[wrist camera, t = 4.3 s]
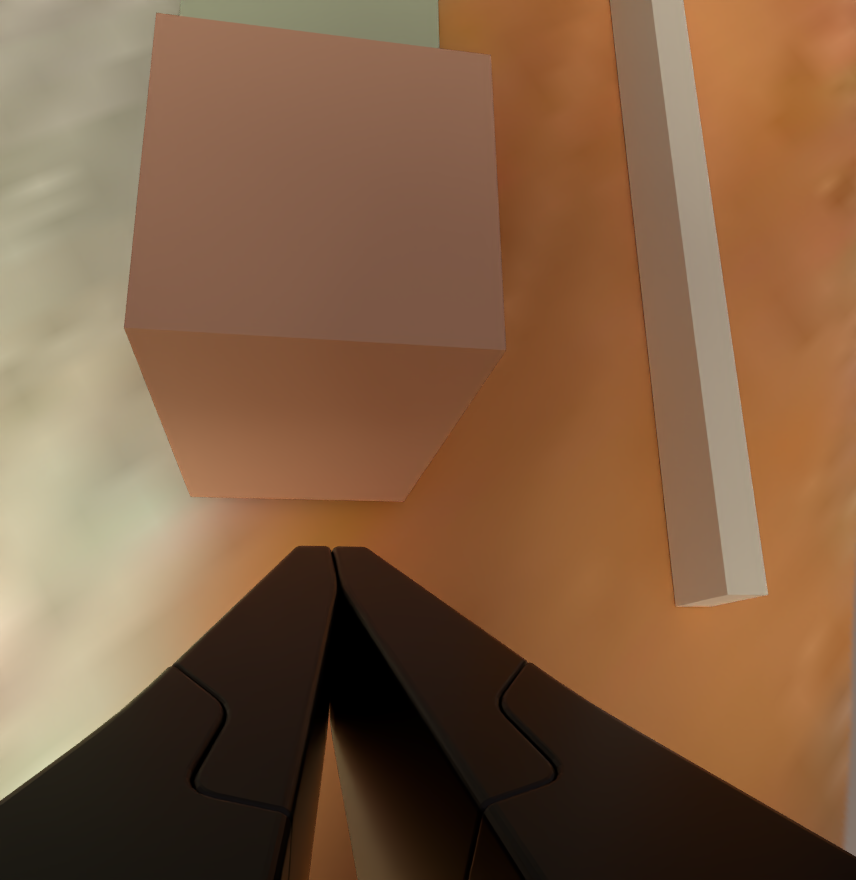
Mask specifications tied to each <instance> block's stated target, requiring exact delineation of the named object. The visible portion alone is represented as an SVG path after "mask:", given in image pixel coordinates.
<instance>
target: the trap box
mask: <svg viewBox="0 0 856 880" xmlns="http://www.w3.org/2000/svg"><path fill="white" fill-rule="evenodd" d="M610 7H611V16H612V25H613V35H614V44H615V53H616V62H617V71H618V81H619V90H620V99H621V108H622V117H623V127H624V136H625V145H626V154H627V163H628V173H629V182H630V191H631V200H632V209H633V219H634V228H635V237H636V246H637V255H638V265H639V274H640V283H641V292H642V302H643V311H644V320H645V329H646V338H647V348H648V357H649V366H650V375H651V384H652V394H653V403H654V412H655V421H656V430H657V440H658V449H659V458H660V467H661V476H662V486H663V495H664V504H665V513H666V522H667V532H668V541H669V550H670V559H671V569H672V578H673V587H674V596H675V605H676V607H712V606H717V605H722V604H726V603H731V602H736V601H741V600H746V599H750V598H755V597H760V596H765V595H768V590H767V583H766V576H765V569H764V562H763V555H762V548H761V541H760V534H759V527H758V520H757V513H756V506H755V499H754V492H753V485H752V478H751V471H750V464H749V457H748V450H747V443H746V436H745V429H744V422H743V415H742V408H741V401H740V394H739V387H738V380H737V373H736V366H735V359H734V352H733V345H732V338H731V331H730V324H729V317H728V310H727V303H726V296H725V289H724V282H723V275H722V268H721V261H720V254H719V247H718V240H717V233H716V226H715V219H714V212H713V205H712V198H711V191H710V184H709V177H708V170H707V163H706V156H705V149H704V142H703V135H702V128H701V121H700V114H699V107H698V100H697V93H696V86H695V79H694V72H693V65H692V58H691V51H690V44H689V37H688V30H687V23H686V16H685V9H684V2H683V0H610ZM179 16H185V17H193V18H201V19H209V20H217V21H225V22H233V23H241V24H249V25H257V26H265V27H273V28H281V29H289V30H297V31H305V32H313V33H320V34H328V35H336V36H344V37H352V38H360V39H368V40H376V41H384V42H392V43H400V44H408V45H416V46H424V47H432V48H439V18H438V0H181V4H180V14H179Z"/></svg>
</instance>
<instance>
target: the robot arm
mask: <svg viewBox="0 0 856 880" xmlns="http://www.w3.org/2000/svg"><path fill="white" fill-rule="evenodd" d="M329 714H330V725H331V732H332V739H333V745H334V750H335V756H336V761H337V767H338V773H339V778H340V784H341V789H342V795H343V801H344V806H345V812H346V817H347V823H348V829H349V834H350V840H351V845H352V851H353V857H354V862H355V868H356V873H357V879H358V880H856V857H855V856H854V855H852V854H850V853H848V852H847V851H845V850H843V849H842V848H840V847H838V846H836V845H835V844H833V843H831V842H829V841H828V840H826V839H824V838H822V837H821V836H819V835H817V834H816V833H814V832H812V831H810V830H809V829H807V828H805V827H803V826H802V825H800V824H798V823H796V822H795V821H793V820H791V819H790V818H788V817H786V816H784V815H783V814H781V813H779V812H777V811H776V810H774V809H772V808H770V807H769V806H767V805H765V804H764V803H762V802H760V801H758V800H757V799H755V798H753V797H751V796H750V795H748V794H746V793H744V792H743V791H741V790H739V789H737V788H736V787H734V786H732V785H731V784H729V783H727V782H725V781H724V780H722V779H720V778H718V777H717V776H715V775H713V774H711V773H710V772H708V771H706V770H705V769H703V768H701V767H699V766H698V765H696V764H694V763H692V762H691V761H689V760H687V759H685V758H684V757H682V756H680V755H679V754H677V753H675V752H673V751H672V750H670V749H668V748H666V747H665V746H663V745H661V744H659V743H658V742H656V741H654V740H653V739H651V738H649V737H647V736H646V735H644V734H642V733H640V732H639V731H637V730H635V729H633V728H632V727H630V726H628V725H627V724H625V723H623V722H622V721H620V720H618V719H617V718H615V717H613V716H612V715H610V714H608V713H607V712H605V711H603V710H602V709H600V708H598V707H597V706H595V705H593V704H592V703H590V702H589V701H587V700H586V699H584V698H583V697H581V696H580V695H578V694H577V693H575V692H574V691H572V690H571V689H569V688H567V687H566V686H564V685H563V684H561V683H560V682H558V681H557V680H555V679H554V678H553V677H551V676H550V675H548V674H547V673H545V672H544V671H543V670H541V669H540V668H538V667H537V666H536V665H534V664H533V663H527V661H526V660H525V659H524V658H522V657H521V656H519V655H518V654H516V653H515V652H514V651H512V650H511V649H509V648H508V647H507V646H505V645H504V644H502V643H501V642H499V641H498V640H497V639H495V638H494V637H492V636H491V635H490V634H488V633H487V632H485V631H484V630H482V629H481V628H480V627H478V626H477V625H475V624H474V623H473V622H471V621H470V620H468V619H467V618H465V617H464V616H463V615H461V614H460V613H458V612H457V611H456V610H454V609H453V608H451V607H450V606H448V605H447V604H446V603H444V602H443V601H441V600H440V599H439V598H437V597H436V596H434V595H433V594H431V593H430V592H429V591H427V590H426V589H424V588H423V587H422V586H420V585H419V584H417V583H416V582H414V581H413V580H412V579H410V578H409V577H407V576H406V575H405V574H403V573H402V572H400V571H399V570H397V569H396V568H395V567H393V566H392V565H390V564H389V563H388V562H386V561H385V560H383V559H382V558H380V557H379V556H378V555H376V554H375V553H373V552H372V551H371V550H369V549H367V548H365V547H341V546H339V547H335V548H334V549H333V550H332V552H331V550H330V548H329V547H326V546H298V547H296V548H295V549H294V550H293V551H292V552H290V553H289V554H288V555H287V556H286V557H285V558H284V559H283V560H282V561H281V562H280V563H279V564H278V565H277V566H276V567H275V568H274V569H273V570H272V571H271V572H269V573H268V574H267V575H266V576H265V577H264V578H263V579H262V580H261V581H260V582H259V583H258V584H257V585H256V586H255V587H254V588H253V589H252V590H251V591H250V592H249V593H247V594H246V595H245V596H244V597H243V598H242V599H241V600H240V601H239V602H238V603H237V604H236V605H235V606H234V607H233V608H232V609H231V610H230V611H229V612H228V613H226V614H225V615H224V616H223V617H222V618H221V619H220V620H219V621H218V622H217V623H216V624H215V625H214V626H213V627H212V628H211V629H210V630H209V631H208V632H207V633H206V634H204V635H203V636H202V637H201V638H200V639H199V640H198V641H197V642H196V643H195V644H194V645H193V646H192V647H191V648H190V649H189V650H188V651H187V652H186V653H185V654H183V655H182V656H181V657H180V658H179V659H178V660H177V661H176V662H175V663H174V664H173V665H172V667H168V668H167V669H166V670H165V671H164V672H163V673H162V674H161V675H160V676H159V677H158V678H157V679H156V680H155V681H153V682H152V683H151V684H150V685H149V686H148V687H147V688H146V689H145V690H143V691H142V692H141V693H140V694H139V695H138V696H137V697H136V698H134V699H133V700H132V701H131V702H130V703H129V704H128V705H126V706H125V707H124V708H123V709H122V710H121V711H120V712H118V713H117V714H116V715H114V716H113V717H112V718H111V719H109V720H108V721H107V722H105V723H104V724H103V725H102V726H100V727H99V728H98V729H96V730H95V731H94V732H93V733H91V734H90V735H89V736H87V737H86V738H85V739H84V740H82V741H81V742H80V743H78V744H77V745H76V746H74V747H73V748H72V749H70V750H69V751H68V752H66V753H65V754H63V755H62V756H61V757H59V758H58V759H57V760H55V761H54V762H53V763H51V764H50V765H48V766H47V767H46V768H44V769H43V770H42V771H40V772H39V773H38V774H36V775H35V776H33V777H32V778H31V779H29V780H28V781H27V782H25V783H24V784H23V785H21V786H20V787H18V788H17V789H16V790H14V791H13V792H12V793H10V794H9V795H8V796H6V797H5V798H3V799H2V800H1V801H0V880H308V879H309V872H310V864H311V856H312V848H313V840H314V833H315V825H316V817H317V809H318V801H319V793H320V786H321V778H322V770H323V762H324V754H325V746H326V739H327V728H328V716H329Z"/></svg>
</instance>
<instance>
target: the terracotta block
mask: <svg viewBox="0 0 856 880" xmlns="http://www.w3.org/2000/svg"><path fill="white" fill-rule="evenodd" d="M124 329H125V331H126V334H127V336H128V339H129V341H130V344H131V347H132V349H133V352H134V354H135V357H136V359H137V362H138V364H139V367H140V369H141V372H142V374H143V377H144V380H145V382H146V385H147V387H148V390H149V392H150V395H151V397H152V400H153V402H154V405H155V407H156V410H157V413H158V415H159V418H160V420H161V423H162V425H163V428H164V430H165V433H166V435H167V438H168V441H169V443H170V446H171V448H172V451H173V453H174V456H175V458H176V461H177V463H178V466H179V468H180V471H181V474H182V476H183V479H184V481H185V484H186V486H187V489H188V491H189V494H190V496H191V497H226V498H269V499H311V500H353V501H395V502H404V500H405V499H406V497H407V496H408V494H409V493H410V491H411V490H412V488H413V487H414V485H415V484H416V483H417V481H418V480H419V478H420V477H421V475H422V474H423V472H424V471H425V469H426V468H427V466H428V465H429V463H430V462H431V460H432V459H433V457H434V456H435V454H436V453H437V452H438V450H439V449H440V447H441V446H442V444H443V443H444V441H445V440H446V438H447V437H448V435H449V434H450V432H451V431H452V429H453V428H454V426H455V425H456V423H457V422H458V420H459V419H460V418H461V416H462V415H463V413H464V412H465V410H466V409H467V407H468V406H469V404H470V403H471V401H472V400H473V398H474V397H475V395H476V394H477V392H478V391H479V389H480V388H481V387H482V385H483V384H484V382H485V381H486V379H487V378H488V376H489V375H490V373H491V372H492V370H493V369H494V367H495V366H496V364H497V363H498V361H499V360H500V358H501V357H502V355H503V354H504V353H505V351H506V338H505V319H504V300H503V280H502V261H501V242H500V222H499V203H498V184H497V165H496V145H495V126H494V107H493V87H492V68H491V55H487V54H479V53H471V52H464V51H456V50H448V49H440V48H432V47H424V46H416V45H408V44H400V43H392V42H384V41H376V40H368V39H360V38H352V37H344V36H336V35H328V34H320V33H313V32H305V31H297V30H289V29H281V28H273V27H265V26H257V25H249V24H241V23H233V22H225V21H217V20H209V19H201V18H193V17H185V16H177V15H169V14H161V13H156V21H155V31H154V40H153V50H152V60H151V70H150V80H149V89H148V99H147V109H146V119H145V128H144V138H143V148H142V158H141V167H140V177H139V187H138V197H137V206H136V216H135V226H134V236H133V246H132V255H131V265H130V275H129V285H128V294H127V304H126V314H125V324H124Z"/></svg>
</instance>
